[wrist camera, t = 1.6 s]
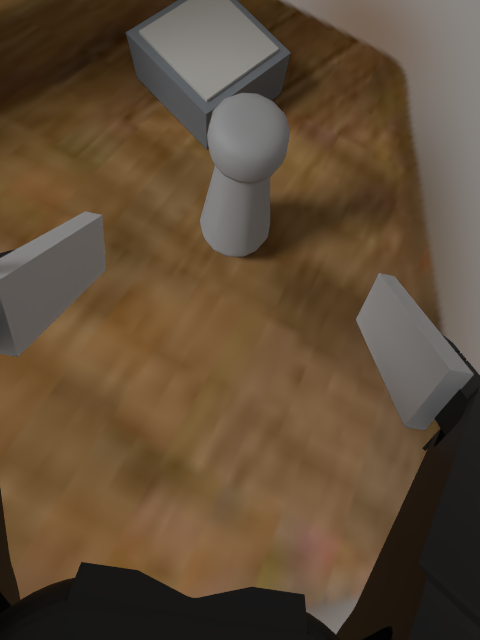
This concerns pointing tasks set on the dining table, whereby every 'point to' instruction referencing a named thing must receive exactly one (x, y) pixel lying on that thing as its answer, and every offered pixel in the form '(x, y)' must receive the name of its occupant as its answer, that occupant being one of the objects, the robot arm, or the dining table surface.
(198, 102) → the slate plinth
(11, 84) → the dining table surface
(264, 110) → the salt shaker
